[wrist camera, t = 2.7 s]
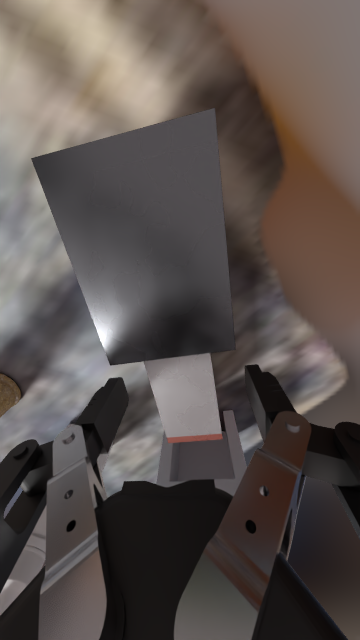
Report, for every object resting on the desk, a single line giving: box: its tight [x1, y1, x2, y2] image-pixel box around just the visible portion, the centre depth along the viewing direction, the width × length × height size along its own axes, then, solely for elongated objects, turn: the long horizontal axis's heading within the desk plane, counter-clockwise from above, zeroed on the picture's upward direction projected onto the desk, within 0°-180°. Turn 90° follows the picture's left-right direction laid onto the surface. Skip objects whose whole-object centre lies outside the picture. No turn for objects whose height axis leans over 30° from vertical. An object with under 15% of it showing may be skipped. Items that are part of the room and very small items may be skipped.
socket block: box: [157, 410, 247, 497], centre depth 17 cm, size 4×7×8 cm, turn 101°
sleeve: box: [31, 108, 236, 365], centre depth 11 cm, size 9×6×7 cm
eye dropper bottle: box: [0, 424, 113, 615], centre depth 17 cm, size 4×6×12 cm
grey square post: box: [144, 353, 222, 443], centre depth 13 cm, size 16×4×5 cm, turn 10°
